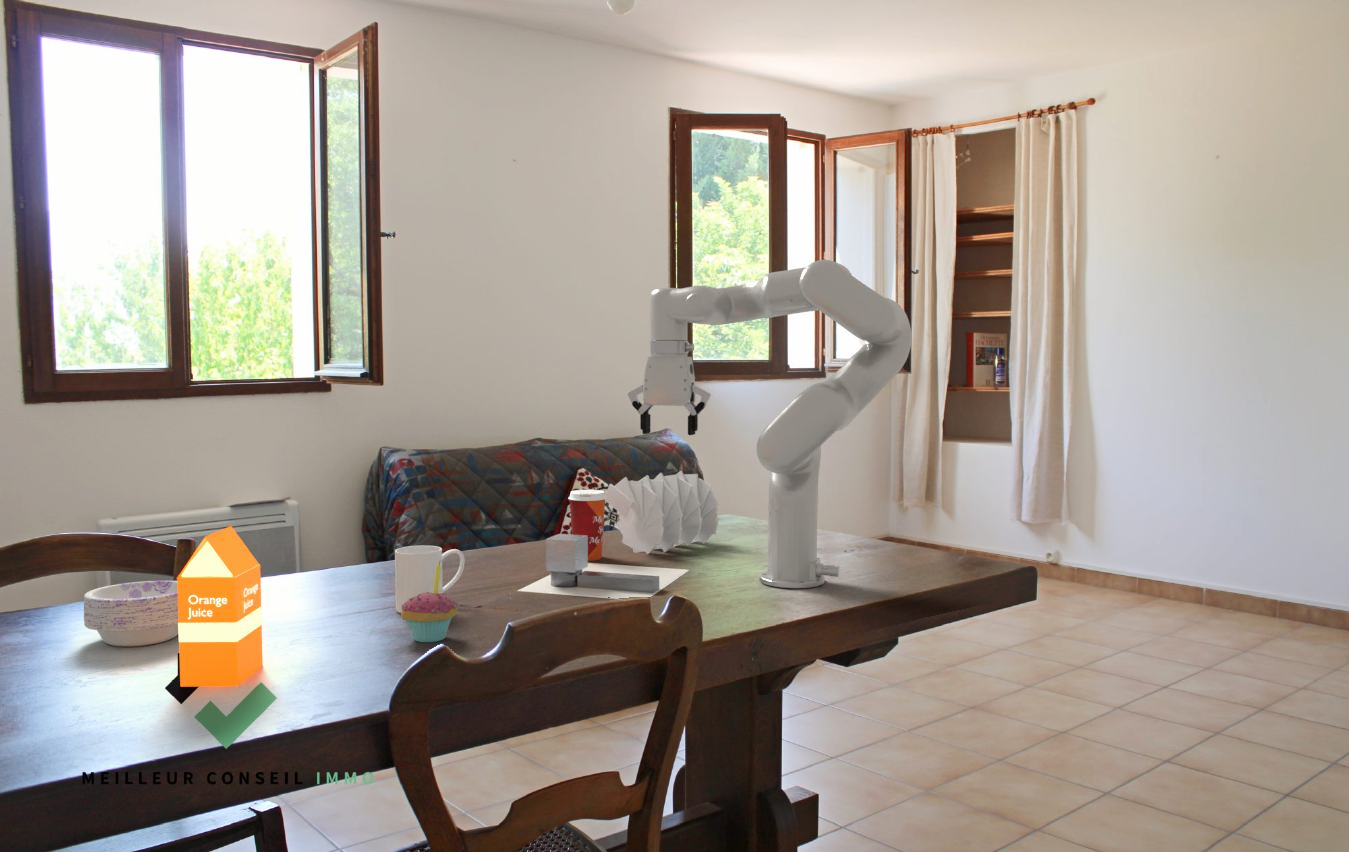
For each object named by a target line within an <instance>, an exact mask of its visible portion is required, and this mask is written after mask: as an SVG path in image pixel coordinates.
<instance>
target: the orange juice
mask: <svg viewBox="0 0 1349 852" xmlns="http://www.w3.org/2000/svg"><path fill="white" fill-rule="evenodd" d="M176 581H177V584H178V619H179V623H178V635H177V636H178V644H179V645H178V646H179V647H178V652H179V654H178V655H179V681H180V682H179V683H180V687H182V688H183V687H184V688H185V687H186V688H187V687H190V688H191V687H193V688H194V687H204V688H205V687H239V686H240V685H241V684H243V683H244V682H245V681H247V680H248V678H250V677H251V676H253V674H255V673H256V672H258V671H259V670H260V669H261V668H262V667H263V664H264V663H263V631H262V630H263V627H262V626H263V617H262V615H263V613H262V612H263V608H262V607H263V606H262V585H261V564H260V563H259V562H258V561H257V559H256V558H255V556H254V555H253V554H252V553H251V551H250V550H249V548H248V547H247V545H245V543H244V541H243V540H242V539H241V538H240V536H239V535H238V534H237V532H236V531H235V528H233V525H230V526H227V527H226V528H223V529H221V530H218V531H216V532H213V533H211V534H209V535H206V536H204V538H203V539H202V541H201V542H200V544H199V545H198V547H197V548H196V550H195V551H194V552H193V554H192V556H191V557H190V559H189V560H188V562H187V563H186V565H184V567H183V569H182V570H181V572H180V573H179V574H178V575H177V577H176Z"/></svg>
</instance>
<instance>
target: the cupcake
mask: <svg viewBox="0 0 1349 852" xmlns="http://www.w3.org/2000/svg"><path fill="white" fill-rule="evenodd" d="M440 561H441V560H440ZM440 561H439V565H437V567H436V576H435V584H434V593H429V592H428V593H427V592H425V593H422V594H418V596H415V597H413V598H411V599H409V600H408V601H406V602H405V603H404V604H403V605H402V611H401V613H400V617H401V619H402V620H404V621H406V623H407V624H408V626H409V628H410V631H411V634H412V637H413V640H414V641H416V642H419V643H436V642H440V641H443V640H444V639H445V638H446V637H447V633H448V629H449V627H450V623H451V621H452V619H453V617H455V616H456V615H457V614H458V604H457V603H456V601H455V600H453V598H452V597H451V596H448V595H446V593H444V592H443V593H438V587H439V578H440V570H441V566H440Z"/></svg>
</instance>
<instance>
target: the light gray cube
mask: <svg viewBox="0 0 1349 852" xmlns="http://www.w3.org/2000/svg"><path fill="white" fill-rule="evenodd" d="M588 563H589V561H588V536H586V535H572V534H570V533H569V534H567V533H558V534H555V535H552V536H550V537H548V538H545V570H546V572H551V571H558V572H572V573H576V572H578V571H580V570H582V569H584V568H586V567H588Z"/></svg>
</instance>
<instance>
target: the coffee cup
mask: <svg viewBox="0 0 1349 852" xmlns="http://www.w3.org/2000/svg"><path fill="white" fill-rule="evenodd" d="M605 495H606V492H605V490H601V489H600V490H599V489H576V490H571V491H570V494H569V496H568V498H567V499H568V500H569V509H570V510H569V511H570V523H571V524H570V527H571V528H570V529H571V535H586V536H588V562H592V561H598V560H600V559H603V558H602V556H603V541H604V525H605V522H604V521H605V507H606V506H605V505H606V501H605V499H606V496H605Z"/></svg>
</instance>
